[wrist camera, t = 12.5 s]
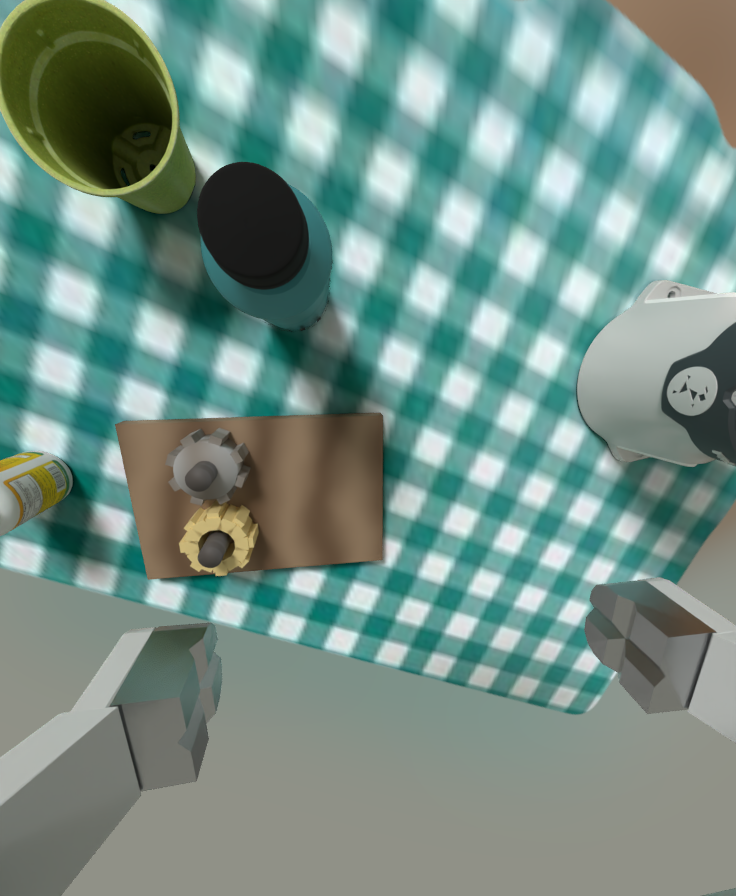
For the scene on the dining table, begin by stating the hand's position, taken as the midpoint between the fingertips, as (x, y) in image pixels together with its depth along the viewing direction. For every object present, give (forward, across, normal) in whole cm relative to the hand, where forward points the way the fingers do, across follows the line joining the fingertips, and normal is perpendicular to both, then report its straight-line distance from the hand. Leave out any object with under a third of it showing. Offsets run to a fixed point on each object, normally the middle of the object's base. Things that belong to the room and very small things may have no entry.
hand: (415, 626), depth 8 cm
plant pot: (+29, +14, -19) cm, 38 cm away
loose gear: (+28, +12, +12) cm, 32 cm away
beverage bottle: (+29, +4, -10) cm, 31 cm away
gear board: (+29, +8, +9) cm, 31 cm away
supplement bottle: (+29, +28, +6) cm, 41 cm away
